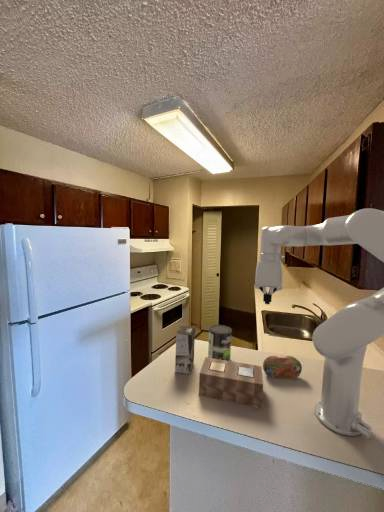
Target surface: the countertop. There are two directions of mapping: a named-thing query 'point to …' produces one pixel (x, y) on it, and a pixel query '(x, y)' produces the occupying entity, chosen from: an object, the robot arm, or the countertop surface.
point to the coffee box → (184, 349)
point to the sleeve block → (231, 383)
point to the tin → (282, 367)
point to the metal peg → (245, 372)
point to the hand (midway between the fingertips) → (267, 303)
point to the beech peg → (217, 367)
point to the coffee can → (219, 342)
